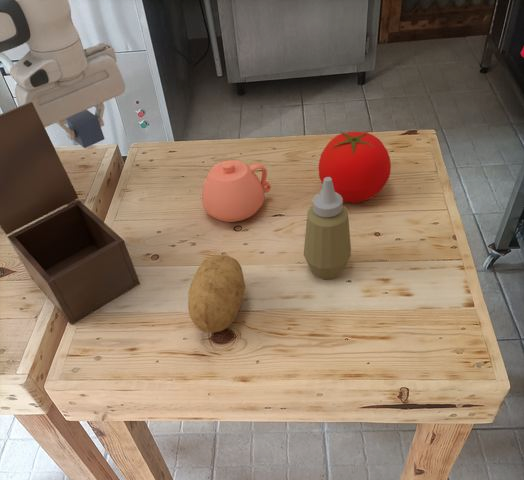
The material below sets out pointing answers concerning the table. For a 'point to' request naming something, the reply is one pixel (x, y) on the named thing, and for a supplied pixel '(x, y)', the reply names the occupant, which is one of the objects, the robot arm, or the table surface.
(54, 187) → the lid
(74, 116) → the block
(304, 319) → the table surface
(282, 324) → the table surface
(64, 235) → the chest
